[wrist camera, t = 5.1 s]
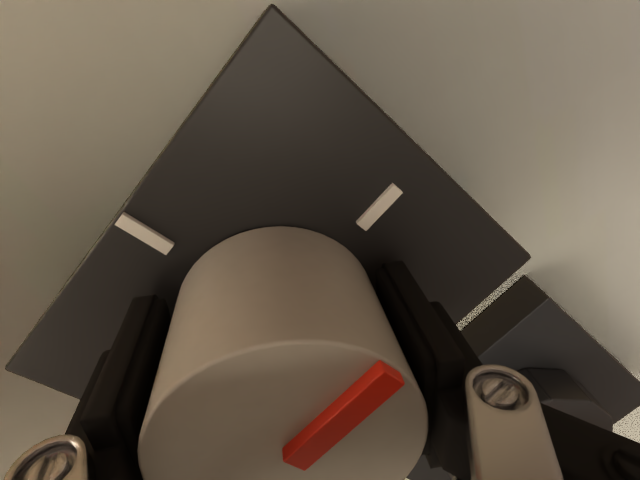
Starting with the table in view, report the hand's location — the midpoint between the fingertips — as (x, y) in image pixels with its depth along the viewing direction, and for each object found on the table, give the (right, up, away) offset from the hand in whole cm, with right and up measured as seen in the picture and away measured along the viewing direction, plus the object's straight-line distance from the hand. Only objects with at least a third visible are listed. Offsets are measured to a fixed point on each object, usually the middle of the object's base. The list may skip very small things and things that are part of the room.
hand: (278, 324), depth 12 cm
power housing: (+10, -6, +10) cm, 15 cm away
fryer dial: (0, 0, 0) cm, 0 cm away
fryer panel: (-1, +2, +4) cm, 5 cm away
